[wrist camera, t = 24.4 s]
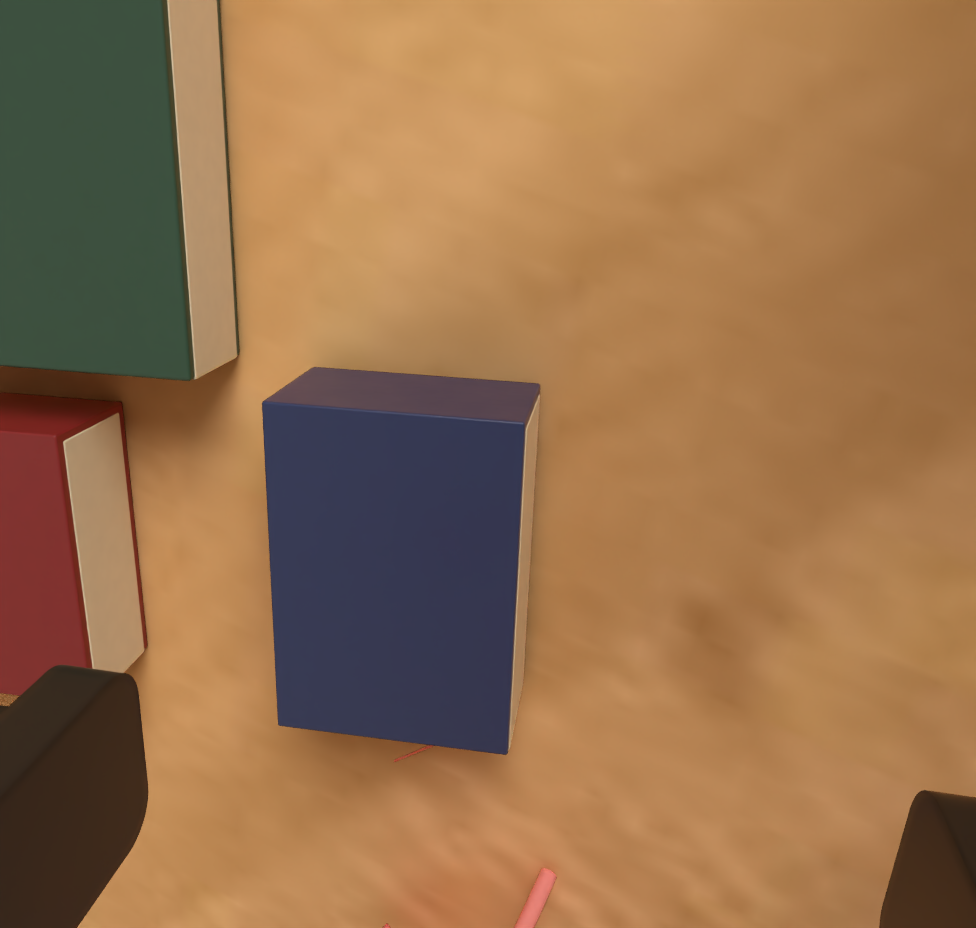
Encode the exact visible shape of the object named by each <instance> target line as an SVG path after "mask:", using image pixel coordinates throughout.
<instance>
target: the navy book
mask: <svg viewBox="0 0 976 928" xmlns="http://www.w3.org/2000/svg"><path fill="white" fill-rule="evenodd" d="M539 405H540V384H536V383H523V382H509V381H496V380H482V379H469V378H455V377H442V376H428V375H415V374H401V373H388V372H374V371H361V370H347V369H334V368H320V367H313V368H311V369H309V370H308V371H307V372H305V373H304V374H302V375H301V376H299V377H298V378H296V379H295V380H293V381H292V382H291V383H289V384H288V385H286V386H285V387H283V388H282V389H280V390H279V391H278V392H276V393H275V394H273V395H272V396H270V397H269V398H267V399H266V400H264V401H263V403H262V411H263V431H264V451H265V471H266V491H267V511H268V531H269V551H270V571H271V591H272V611H273V631H274V651H275V671H276V691H277V712H278V725H279V726H286V727H293V728H301V729H309V730H317V731H324V732H332V733H340V734H348V735H356V736H363V737H371V738H379V739H387V740H394V741H402V742H410V743H418V744H426V745H433V746H441V747H449V748H457V749H464V750H472V751H480V752H488V753H495V754H503V755H506V754H507V753H508V750H509V749H510V746H511V741H512V736H513V731H514V727H515V722H516V717H517V712H518V707H519V702H520V697H521V692H522V688H523V680H524V662H525V645H526V628H527V611H528V594H529V577H530V560H531V543H532V525H533V508H534V491H535V474H536V457H537V440H538V423H539Z"/></svg>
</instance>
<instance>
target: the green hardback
mask: <svg viewBox="0 0 976 928" xmlns="http://www.w3.org/2000/svg"><path fill="white" fill-rule="evenodd" d="M237 355H239V337H238V320H237V302H236V284H235V266H234V248H233V231H232V213H231V195H230V177H229V160H228V142H227V124H226V106H225V88H224V71H223V53H222V35H221V17H220V0H0V366H8V367H20V368H33V369H45V370H58V371H70V372H83V373H95V374H108V375H120V376H133V377H145V378H158V379H170V380H183V381H190V380H192V379H193V380H196V379H198V378H200V377H201V376H203V375H205V374H207V373H209V372H211V371H213V370H214V369H216V368H218V367H220V366H222V365H224V364H226V363H227V362H229V361H231V360H233V359H235V358H237Z"/></svg>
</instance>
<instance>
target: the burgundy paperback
mask: <svg viewBox="0 0 976 928" xmlns="http://www.w3.org/2000/svg"><path fill="white" fill-rule="evenodd" d="M146 648H147V635H146V626H145V616H144V607H143V597H142V588H141V578H140V569H139V559H138V550H137V540H136V531H135V521H134V512H133V503H132V493H131V484H130V474H129V465H128V455H127V446H126V436H125V427H124V417H123V408H122V403H121V402H112V401H100V400H88V399H76V398H64V397H51V396H39V395H27V394H15V393H3V392H0V693H4V694H11V695H19V696H21V695H22V694H23V693H24V692H25V691H26V690H27V689H28V688H29V687H30V686H31V685H32V684H33V683H35V682H36V681H37V680H38V679H39V678H40V677H41V676H42V675H43V674H44V673H45V672H47V671H48V670H49V669H50V668H52V667H54V666H57V665H70V666H77V667H84V668H91V669H98V670H105V671H112V672H119V673H124V672H125V671H126V670H127V669H128V668H129V667H130V666H131V665H132V664H133V663H134V662H135V661H136V659H137V658H138V657H139V656H140V655H141V654H142V653H143V652H144V650H145V649H146Z"/></svg>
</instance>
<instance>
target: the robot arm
mask: <svg viewBox="0 0 976 928" xmlns="http://www.w3.org/2000/svg"><path fill="white" fill-rule="evenodd" d="M147 801H148V781H147V771H146V761H145V752H144V742H143V732H142V722H141V713H140V703H139V694H138V688H137V685H136V682H135V680H134V679H133V677H132V676H131V675H129V674H126V673H119V672H112V671H105V670H98V669H91V668H84V667H77V666H70V665H57V666H54V667H52V668H50V669H49V670H48V671H47V672H45V673H44V674H43V675H42V676H41V677H40V678H39V679H38V680H37V681H36V682H35V683H33V684H32V685H31V686H30V687H29V688H28V689H27V690H26V691H25V692H24V693H23V694H22V695H21V696H20V697H18V698H17V699H16V700H15V701H14V702H13V703H12V704H11V705H10V706H9V707H8V706H1V705H0V928H77V927H78V925H79V924H80V923H81V921H82V920H83V918H84V917H85V915H86V914H87V912H88V911H89V910H90V908H91V907H92V905H93V904H94V902H95V901H96V900H97V898H98V897H99V895H100V894H101V892H102V891H103V889H104V888H105V887H106V885H107V884H108V882H109V881H110V879H111V878H112V876H113V875H114V874H115V872H116V871H117V869H118V868H119V866H120V865H121V863H122V862H123V861H124V859H125V858H126V856H127V855H128V853H129V852H130V850H131V849H132V847H133V845H134V843H135V841H136V839H137V837H138V835H139V832H140V830H141V827H142V824H143V821H144V817H145V813H146V808H147ZM879 928H976V798H975V797H968V796H961V795H954V794H947V793H940V792H934V791H927V790H923V791H920V792H919V793H918V794H917V795H916V796H915V798H914V800H913V802H912V805H911V808H910V811H909V814H908V818H907V821H906V825H905V828H904V832H903V835H902V839H901V842H900V846H899V849H898V853H897V856H896V860H895V863H894V867H893V870H892V874H891V878H890V881H889V885H888V888H887V892H886V895H885V899H884V902H883V906H882V910H881V916H880V926H879Z"/></svg>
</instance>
